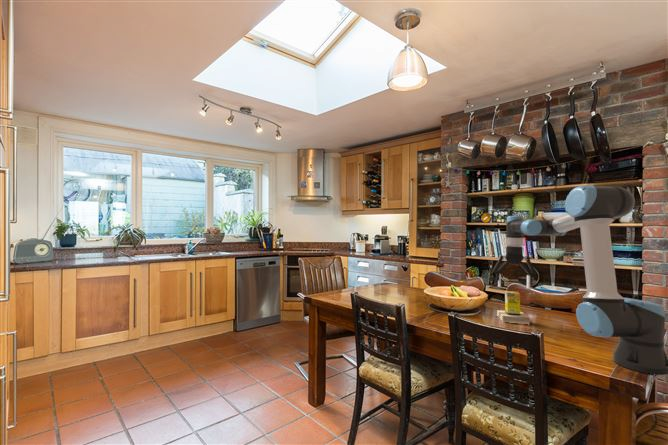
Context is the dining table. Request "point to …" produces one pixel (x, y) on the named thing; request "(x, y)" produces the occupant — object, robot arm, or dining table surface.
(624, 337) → the robot arm
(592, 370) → the dining table surface
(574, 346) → the dining table surface
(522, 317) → the maple block
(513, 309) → the supplement box
